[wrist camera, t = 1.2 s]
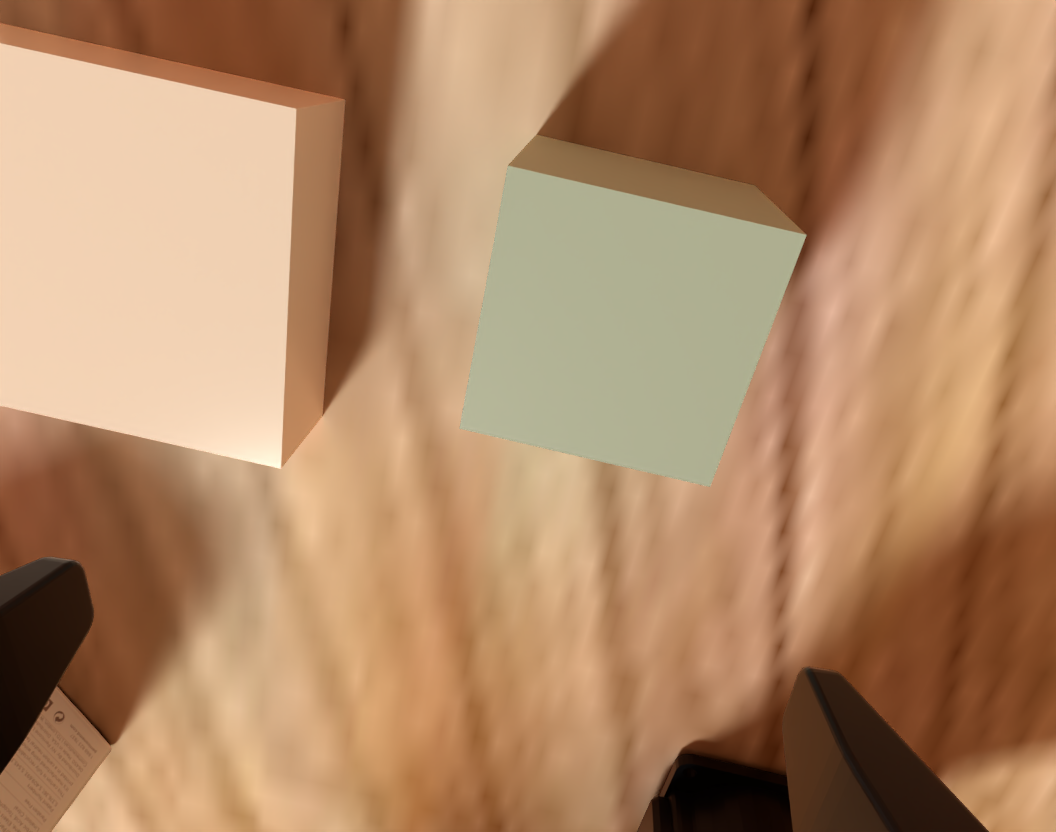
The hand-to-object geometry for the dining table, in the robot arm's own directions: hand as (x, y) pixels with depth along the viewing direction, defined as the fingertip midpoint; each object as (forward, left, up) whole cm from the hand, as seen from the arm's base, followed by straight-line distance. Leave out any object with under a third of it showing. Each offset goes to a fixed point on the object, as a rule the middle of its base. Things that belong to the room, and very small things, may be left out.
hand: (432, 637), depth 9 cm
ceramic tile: (+10, 0, -13) cm, 16 cm away
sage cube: (-2, -2, -12) cm, 13 cm away
